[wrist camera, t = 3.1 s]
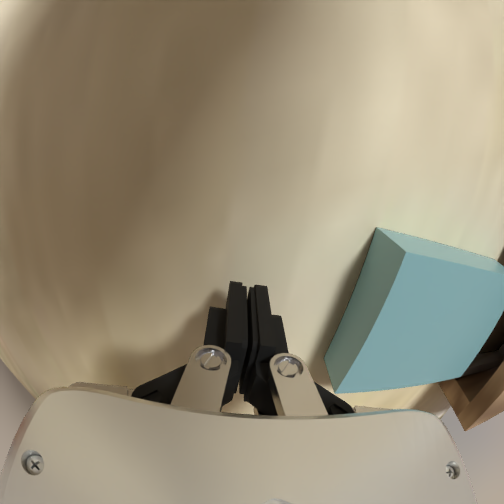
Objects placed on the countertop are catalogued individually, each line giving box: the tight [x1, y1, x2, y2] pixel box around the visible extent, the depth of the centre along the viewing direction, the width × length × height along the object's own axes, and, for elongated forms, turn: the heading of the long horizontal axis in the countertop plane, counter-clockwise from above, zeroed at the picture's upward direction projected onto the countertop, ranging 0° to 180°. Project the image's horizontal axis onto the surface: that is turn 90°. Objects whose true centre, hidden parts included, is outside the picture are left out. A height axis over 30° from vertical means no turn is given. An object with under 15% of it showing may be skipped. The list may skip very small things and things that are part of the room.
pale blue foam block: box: [324, 227, 504, 394], centre depth 14 cm, size 9×12×3 cm
